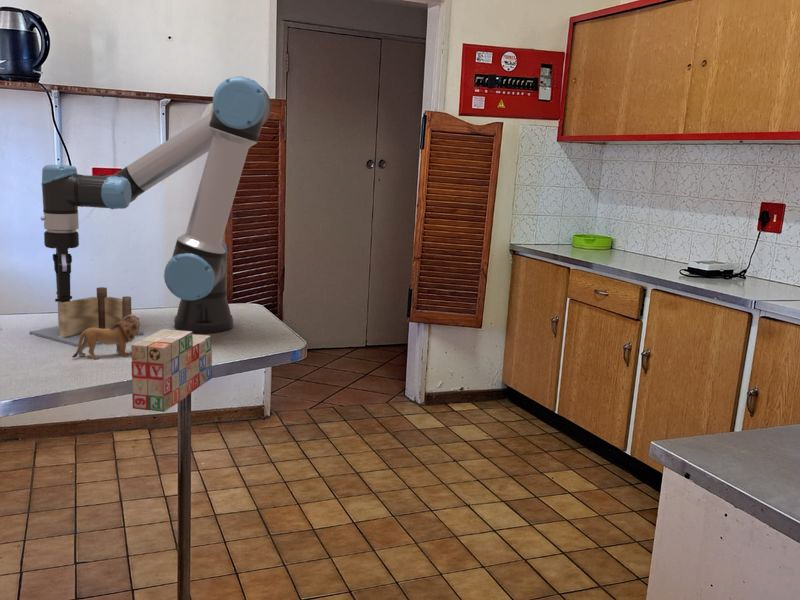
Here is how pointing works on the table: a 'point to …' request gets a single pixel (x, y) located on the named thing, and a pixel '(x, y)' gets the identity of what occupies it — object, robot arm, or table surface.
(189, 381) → the stack of blocks
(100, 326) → the fence post and fixed section
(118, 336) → the lion figurine
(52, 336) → the card
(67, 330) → the hinged fence panel
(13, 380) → the table surface
